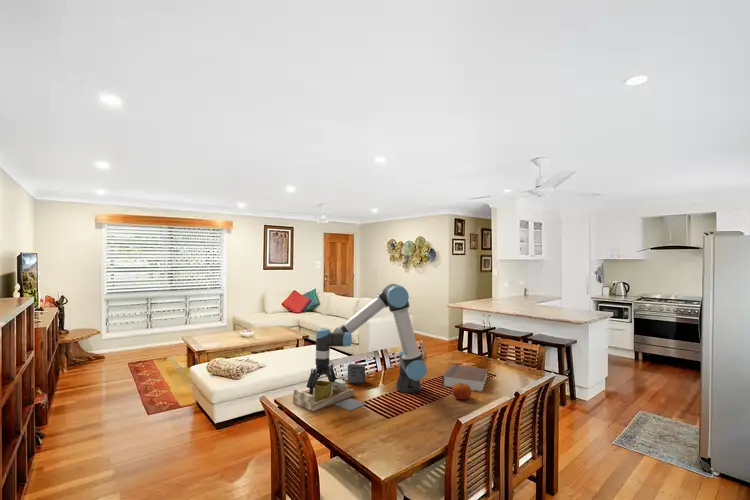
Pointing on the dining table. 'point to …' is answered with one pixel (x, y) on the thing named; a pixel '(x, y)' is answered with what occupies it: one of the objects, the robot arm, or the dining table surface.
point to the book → (465, 377)
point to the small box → (356, 373)
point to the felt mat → (350, 404)
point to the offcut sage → (339, 383)
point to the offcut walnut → (337, 391)
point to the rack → (308, 401)
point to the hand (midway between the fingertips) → (321, 396)
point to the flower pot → (322, 390)
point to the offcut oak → (341, 388)
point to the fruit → (461, 391)
